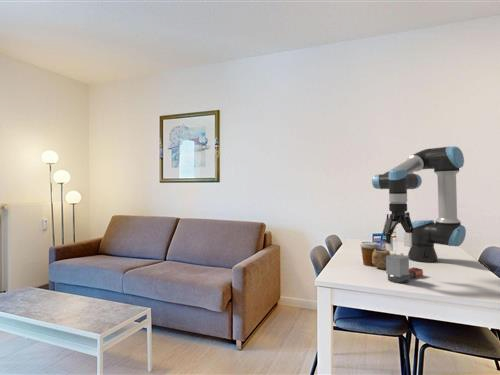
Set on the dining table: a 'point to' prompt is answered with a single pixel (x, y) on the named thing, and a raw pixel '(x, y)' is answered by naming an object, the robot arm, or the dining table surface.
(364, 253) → the disposable coffee cup
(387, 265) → the grey upright box
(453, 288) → the dining table surface
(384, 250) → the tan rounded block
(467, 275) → the dining table surface
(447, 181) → the robot arm
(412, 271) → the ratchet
